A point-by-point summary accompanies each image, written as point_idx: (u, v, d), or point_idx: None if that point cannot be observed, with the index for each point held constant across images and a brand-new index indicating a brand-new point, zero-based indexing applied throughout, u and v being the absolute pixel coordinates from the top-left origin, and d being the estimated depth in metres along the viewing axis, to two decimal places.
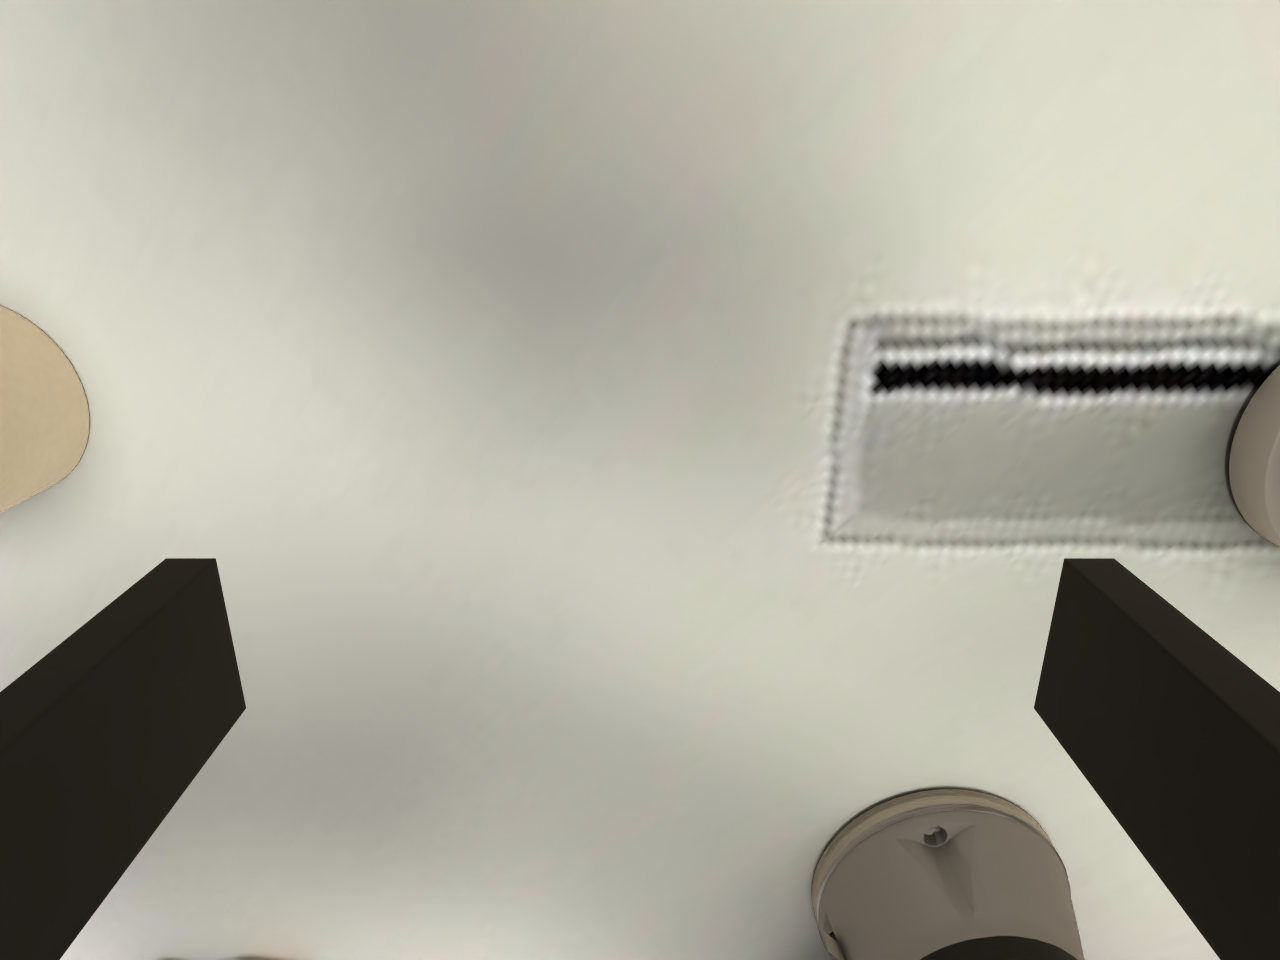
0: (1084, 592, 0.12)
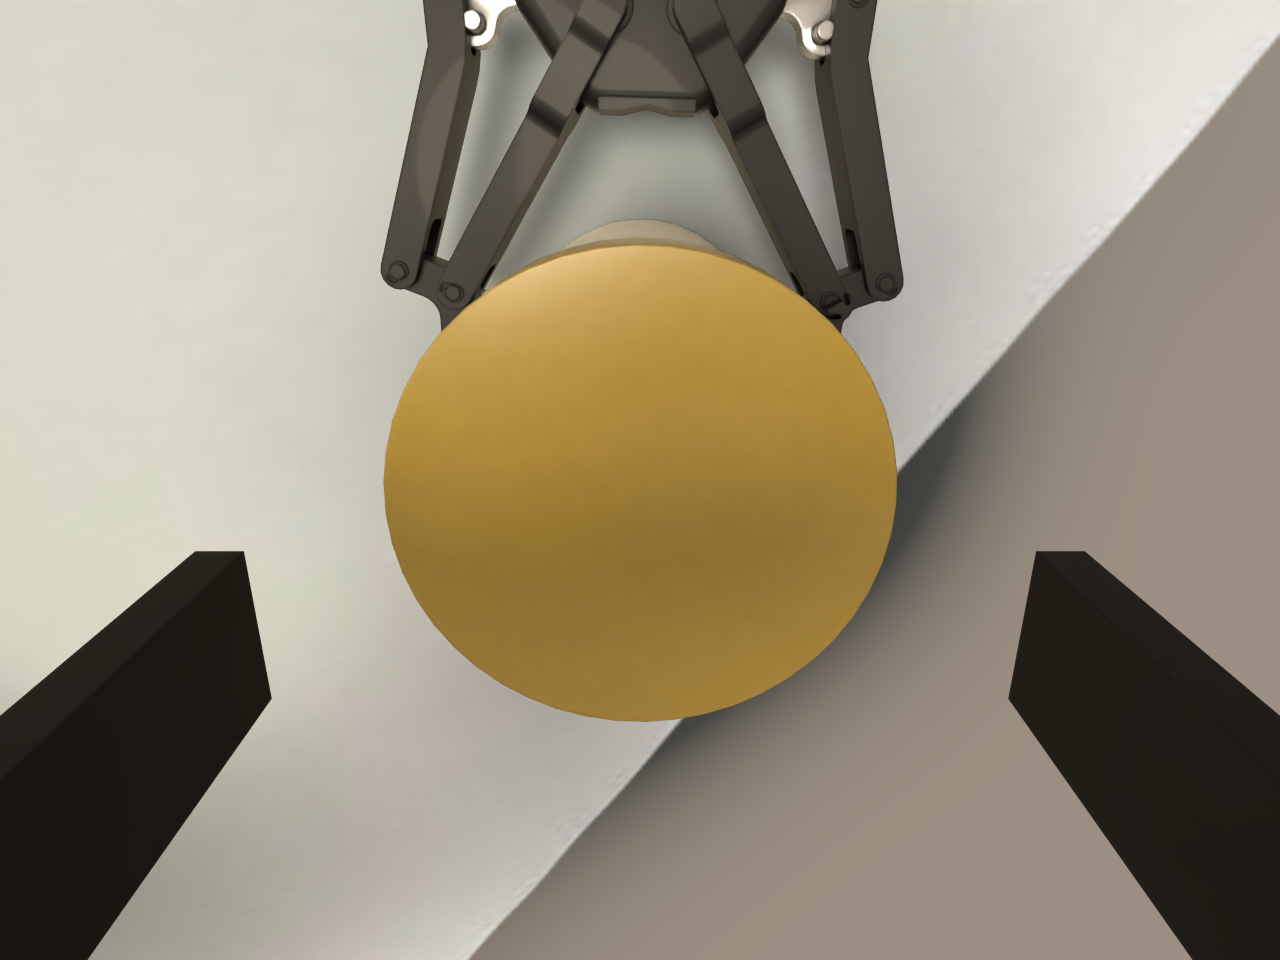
0: (1054, 584, 0.12)
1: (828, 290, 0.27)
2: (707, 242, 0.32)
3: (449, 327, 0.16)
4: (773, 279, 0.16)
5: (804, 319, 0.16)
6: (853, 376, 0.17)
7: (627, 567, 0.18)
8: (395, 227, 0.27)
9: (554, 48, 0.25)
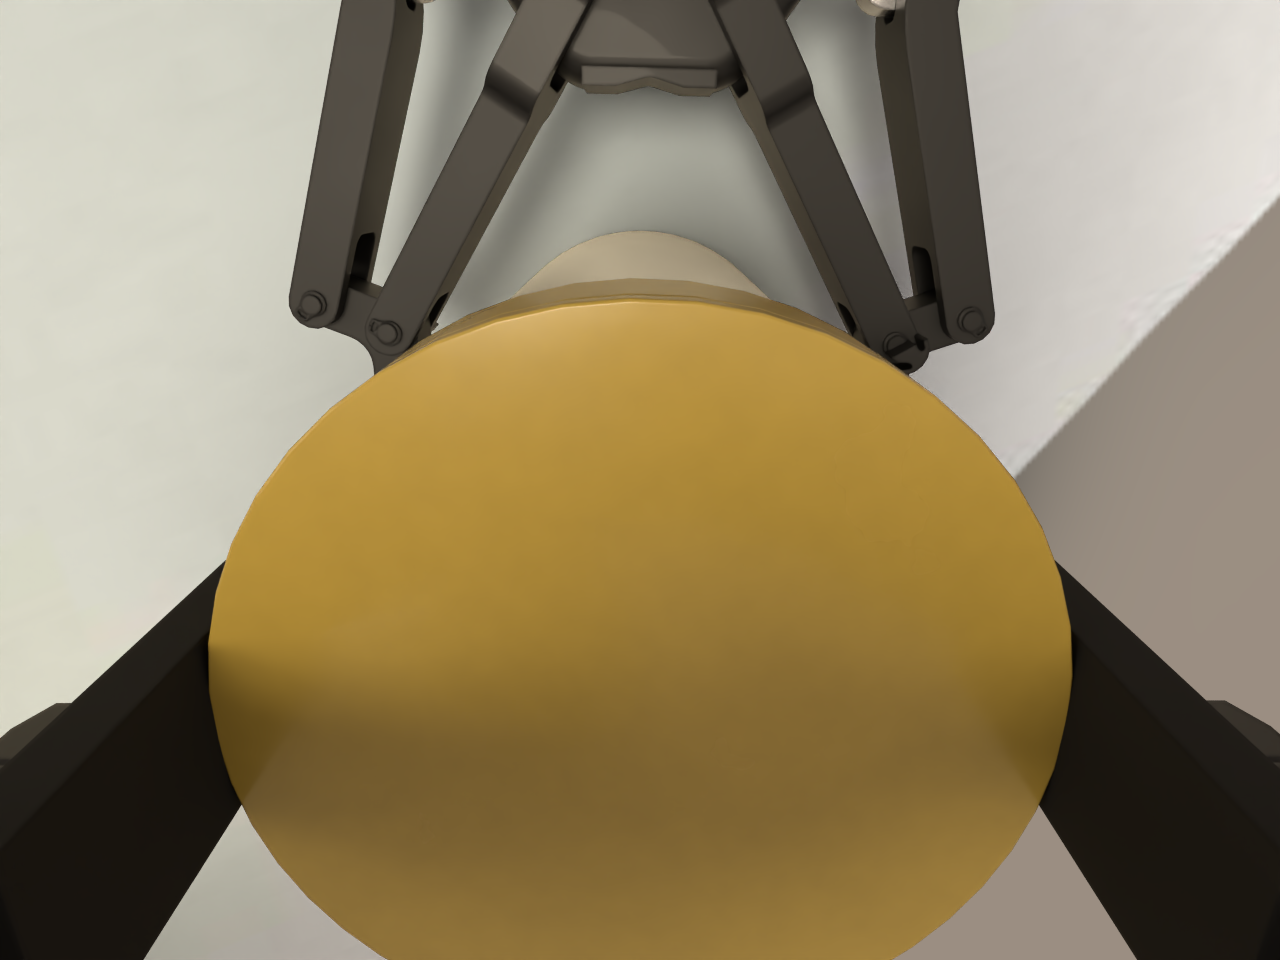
0: None
1: (893, 329, 0.20)
2: (725, 260, 0.25)
3: (302, 442, 0.09)
4: (879, 360, 0.09)
5: (931, 429, 0.09)
6: (1011, 523, 0.10)
7: (618, 816, 0.11)
8: (306, 245, 0.20)
9: None
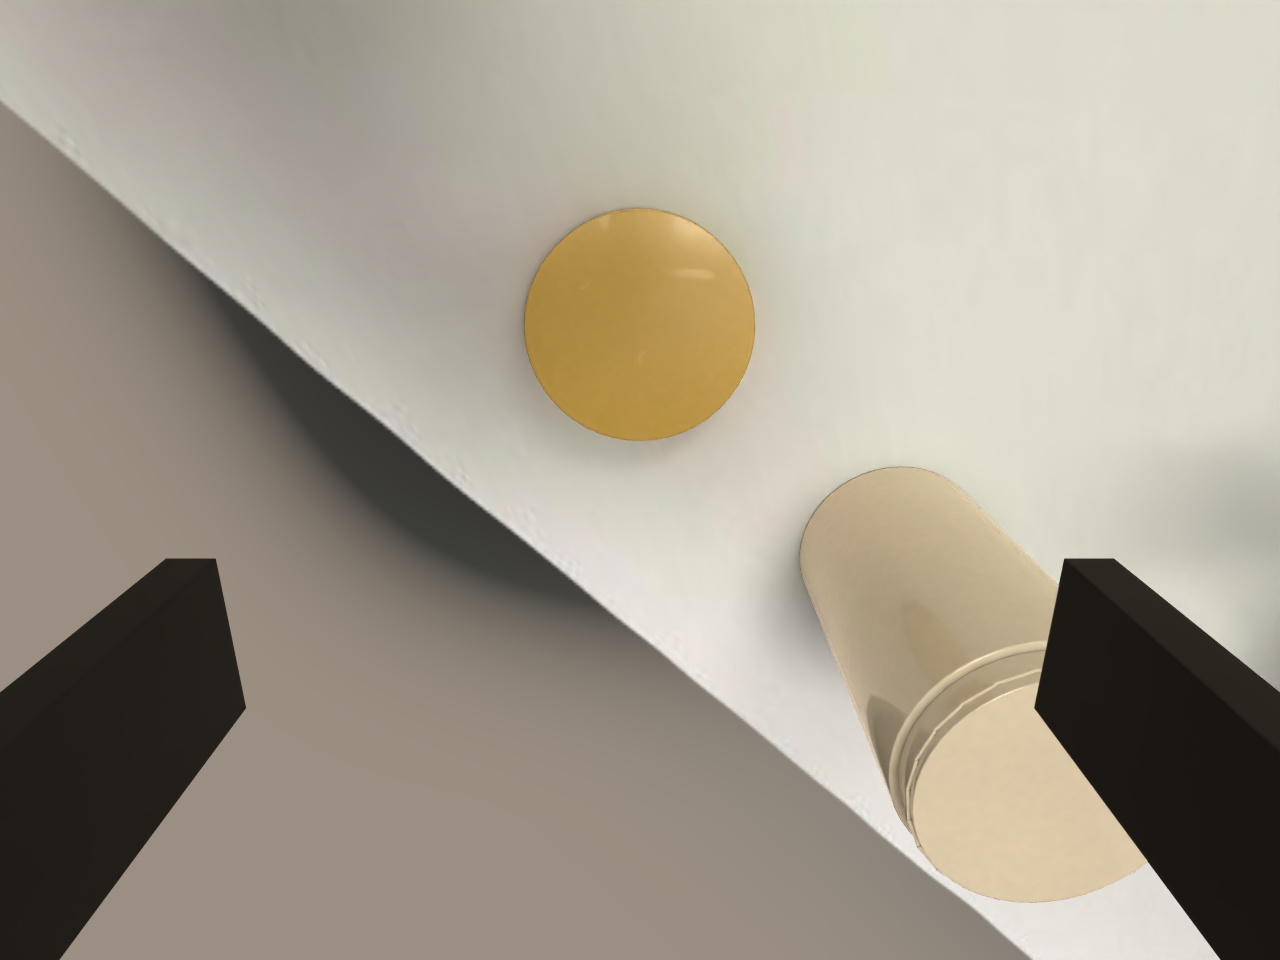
0: (1084, 592, 0.12)
1: None
2: None
3: (687, 221, 0.37)
4: (753, 342, 0.39)
5: (742, 361, 0.40)
6: (728, 389, 0.40)
7: (610, 336, 0.39)
8: None
9: None
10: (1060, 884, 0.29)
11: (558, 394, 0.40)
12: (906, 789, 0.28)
